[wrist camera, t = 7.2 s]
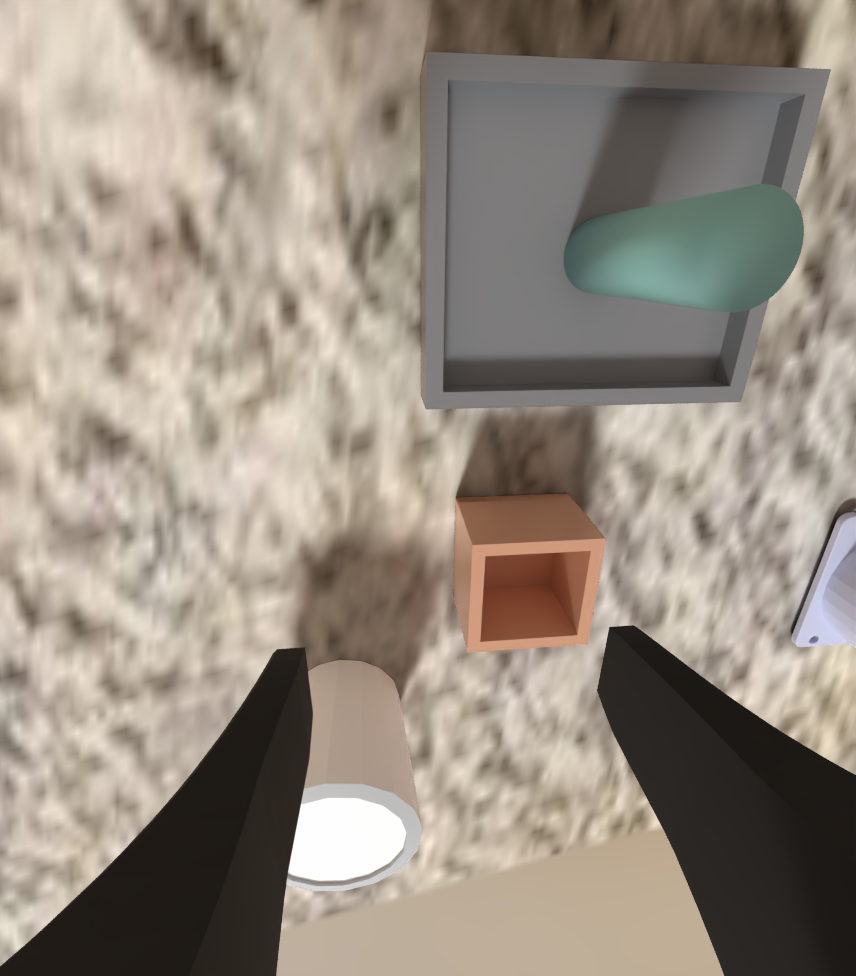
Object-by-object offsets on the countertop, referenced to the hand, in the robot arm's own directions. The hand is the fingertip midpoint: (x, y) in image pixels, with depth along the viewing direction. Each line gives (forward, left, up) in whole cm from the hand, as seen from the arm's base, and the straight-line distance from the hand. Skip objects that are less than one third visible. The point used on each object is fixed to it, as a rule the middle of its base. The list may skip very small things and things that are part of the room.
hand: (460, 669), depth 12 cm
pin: (-6, -9, -9) cm, 14 cm away
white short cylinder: (+4, +12, -11) cm, 17 cm away
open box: (-4, +3, -10) cm, 12 cm away
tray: (-6, -9, -10) cm, 15 cm away
